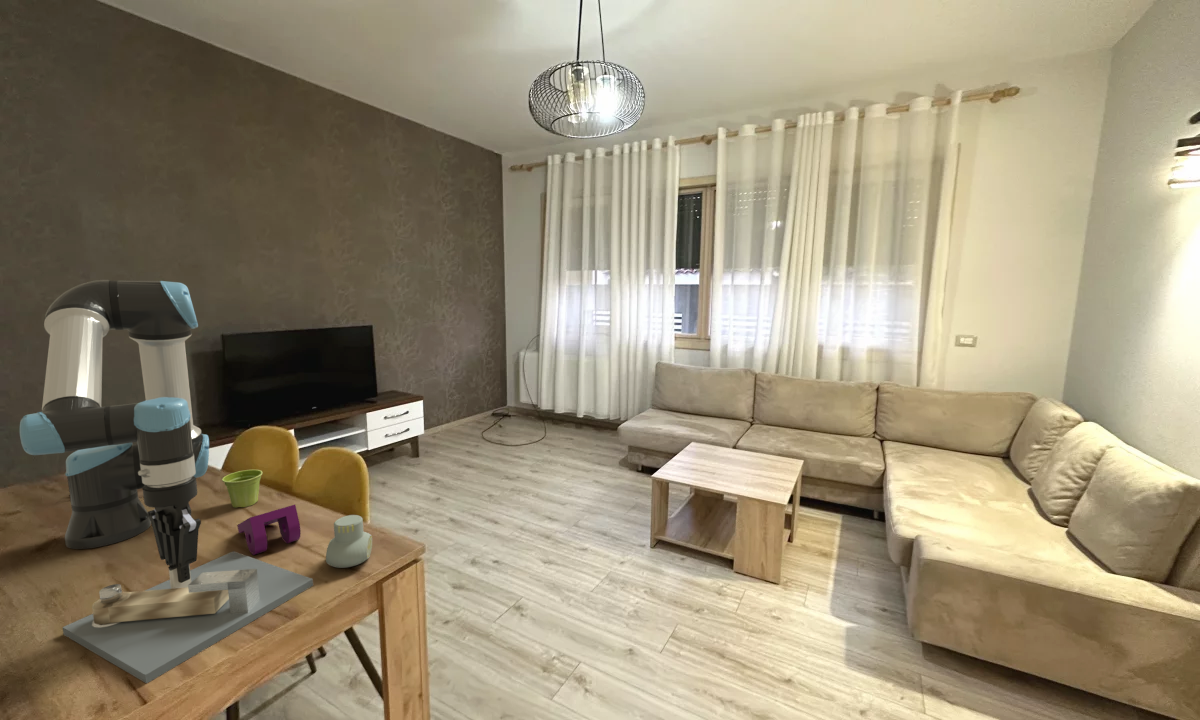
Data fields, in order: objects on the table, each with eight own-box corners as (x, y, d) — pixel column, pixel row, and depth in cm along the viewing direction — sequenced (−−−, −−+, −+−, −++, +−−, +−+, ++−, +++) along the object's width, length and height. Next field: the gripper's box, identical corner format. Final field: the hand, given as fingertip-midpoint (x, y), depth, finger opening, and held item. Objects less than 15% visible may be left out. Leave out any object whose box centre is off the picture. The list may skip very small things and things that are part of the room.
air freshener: (365, 571, 106) (363, 529, 105) (324, 576, 104) (321, 534, 102) (374, 546, 116) (372, 508, 115) (336, 551, 114) (334, 511, 113)
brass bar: (85, 625, 85) (83, 610, 84) (109, 607, 90) (107, 593, 89) (214, 614, 88) (212, 599, 88) (230, 597, 93) (228, 583, 93)
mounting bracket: (240, 559, 120) (257, 553, 109) (233, 527, 122) (249, 517, 110) (283, 545, 128) (302, 537, 116) (276, 514, 129) (295, 504, 117)
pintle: (85, 622, 86) (81, 593, 85) (125, 604, 91) (122, 576, 90) (101, 631, 84) (97, 601, 83) (141, 612, 89) (138, 583, 88)
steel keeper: (191, 617, 88) (187, 585, 87) (205, 603, 92) (202, 572, 91) (248, 612, 89) (245, 580, 89) (259, 599, 93) (256, 568, 92)
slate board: (63, 634, 85) (62, 627, 85) (233, 557, 111) (233, 551, 111) (146, 683, 75) (145, 674, 75) (313, 585, 100) (312, 578, 100)
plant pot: (270, 501, 140) (268, 473, 139) (233, 513, 132) (230, 484, 131) (256, 494, 145) (253, 467, 144) (219, 505, 137) (216, 477, 136)
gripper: (125, 481, 88) (139, 596, 92) (164, 494, 83) (178, 615, 87) (174, 468, 95) (185, 575, 99) (213, 479, 90) (223, 592, 94)
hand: (182, 594), depth 93 cm, fingers closed
